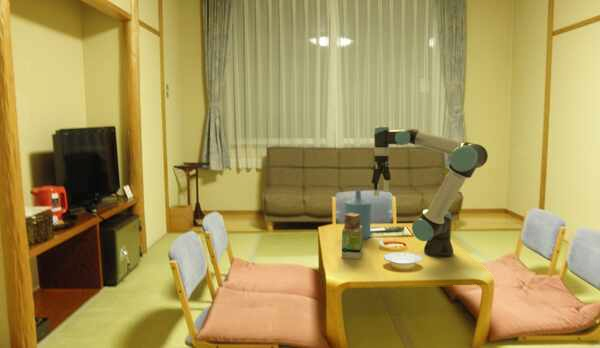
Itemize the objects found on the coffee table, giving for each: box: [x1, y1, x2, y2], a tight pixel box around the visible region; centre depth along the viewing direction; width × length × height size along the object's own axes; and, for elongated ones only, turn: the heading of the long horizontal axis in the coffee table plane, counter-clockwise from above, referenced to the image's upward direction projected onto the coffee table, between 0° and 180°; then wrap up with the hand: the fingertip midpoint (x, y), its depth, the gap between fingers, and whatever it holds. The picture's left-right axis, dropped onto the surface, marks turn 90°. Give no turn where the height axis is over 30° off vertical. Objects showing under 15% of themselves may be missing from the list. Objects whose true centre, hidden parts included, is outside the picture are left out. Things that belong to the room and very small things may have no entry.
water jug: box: [344, 189, 372, 240], centre depth 293 cm, size 16×16×28 cm
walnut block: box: [344, 213, 360, 230], centre depth 257 cm, size 6×6×7 cm
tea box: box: [341, 225, 363, 260], centre depth 259 cm, size 15×10×15 cm, turn 169°
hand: (381, 193), depth 266 cm, fingers open, 13 cm apart
